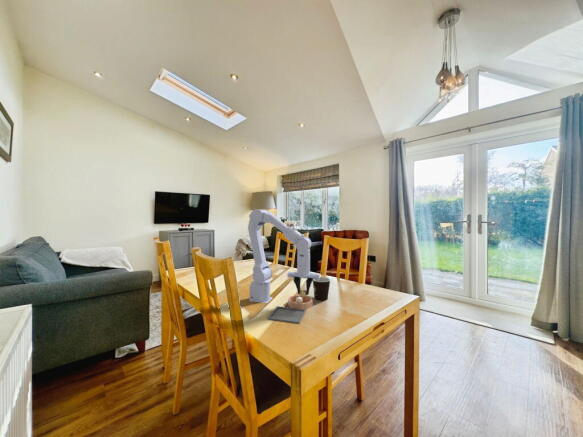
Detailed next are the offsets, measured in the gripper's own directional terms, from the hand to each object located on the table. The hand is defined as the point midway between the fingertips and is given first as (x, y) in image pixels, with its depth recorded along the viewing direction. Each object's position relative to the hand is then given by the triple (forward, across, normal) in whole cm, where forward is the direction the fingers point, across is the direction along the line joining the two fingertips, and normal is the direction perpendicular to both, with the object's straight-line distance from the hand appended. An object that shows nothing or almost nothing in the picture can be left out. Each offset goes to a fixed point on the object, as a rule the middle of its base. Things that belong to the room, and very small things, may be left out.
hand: (303, 294), depth 106 cm
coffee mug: (+6, +6, +13) cm, 16 cm away
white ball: (+5, -2, +1) cm, 6 cm away
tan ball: (+1, 0, 0) cm, 1 cm away
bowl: (+6, -2, +1) cm, 6 cm away
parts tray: (+6, -4, -12) cm, 14 cm away
